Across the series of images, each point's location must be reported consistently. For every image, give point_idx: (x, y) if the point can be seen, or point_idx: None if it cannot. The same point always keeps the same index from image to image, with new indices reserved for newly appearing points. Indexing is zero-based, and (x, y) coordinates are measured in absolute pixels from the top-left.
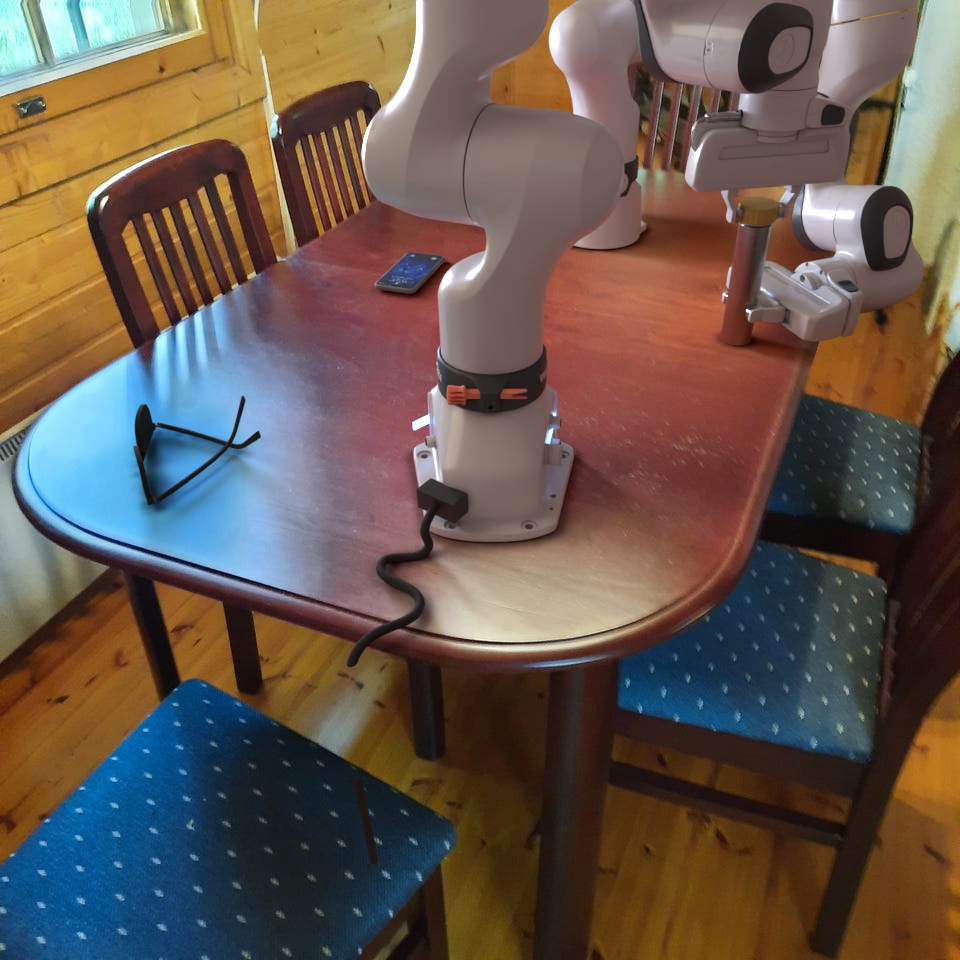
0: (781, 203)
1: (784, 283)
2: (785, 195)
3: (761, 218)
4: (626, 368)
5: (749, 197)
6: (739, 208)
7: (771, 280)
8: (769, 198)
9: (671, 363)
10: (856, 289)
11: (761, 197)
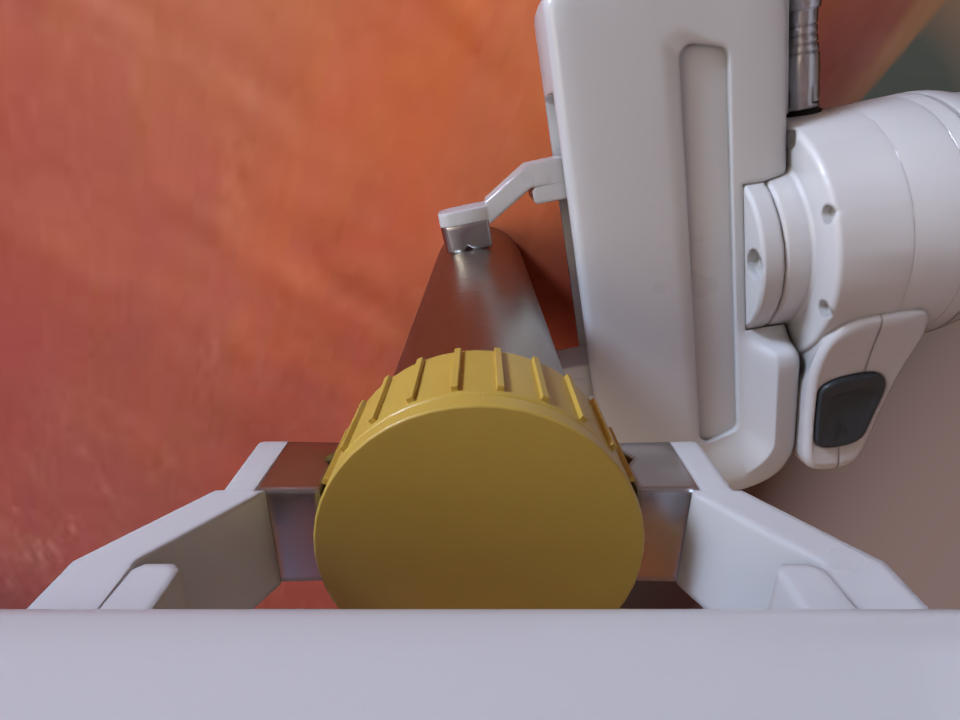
0: (684, 532)
1: (681, 247)
2: (749, 554)
3: None
4: (138, 368)
5: (453, 420)
6: (307, 553)
7: (647, 208)
8: (621, 480)
9: (261, 365)
10: (853, 439)
11: (564, 442)
